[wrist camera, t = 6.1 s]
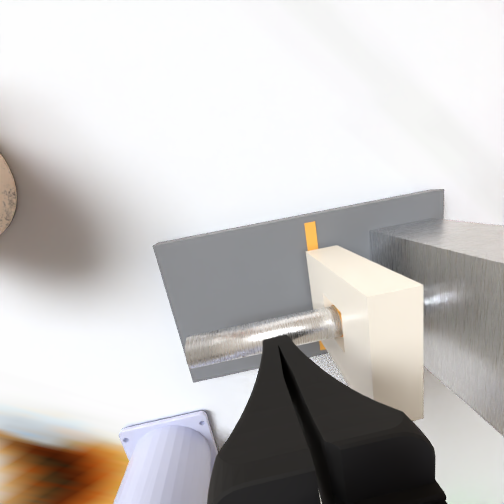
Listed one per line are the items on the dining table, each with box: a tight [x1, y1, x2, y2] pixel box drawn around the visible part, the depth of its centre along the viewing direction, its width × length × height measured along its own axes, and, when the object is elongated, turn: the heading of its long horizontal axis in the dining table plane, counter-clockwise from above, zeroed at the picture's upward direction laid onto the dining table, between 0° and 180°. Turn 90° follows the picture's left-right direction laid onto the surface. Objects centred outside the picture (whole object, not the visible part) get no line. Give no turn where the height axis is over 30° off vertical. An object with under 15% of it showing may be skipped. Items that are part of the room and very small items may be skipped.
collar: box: [306, 245, 423, 421], centre depth 14 cm, size 7×2×8 cm, turn 10°
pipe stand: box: [185, 218, 504, 436], centre depth 14 cm, size 8×19×10 cm, turn 100°
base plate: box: [153, 189, 444, 383], centre depth 19 cm, size 12×22×1 cm, turn 100°
